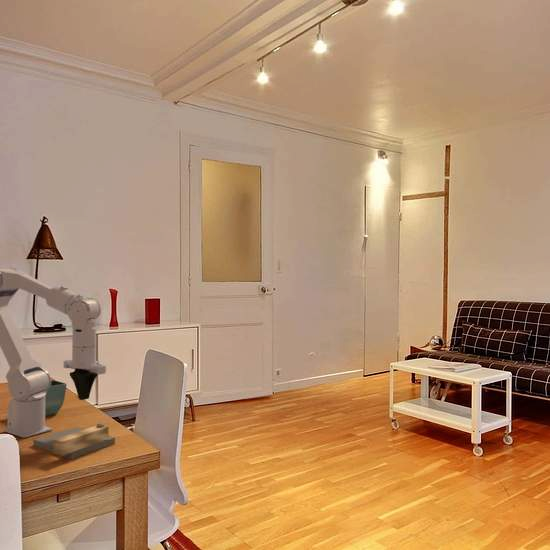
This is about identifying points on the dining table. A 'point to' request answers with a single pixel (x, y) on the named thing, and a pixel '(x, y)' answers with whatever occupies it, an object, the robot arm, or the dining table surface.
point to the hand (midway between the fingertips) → (83, 399)
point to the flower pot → (54, 397)
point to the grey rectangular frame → (47, 441)
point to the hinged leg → (80, 439)
